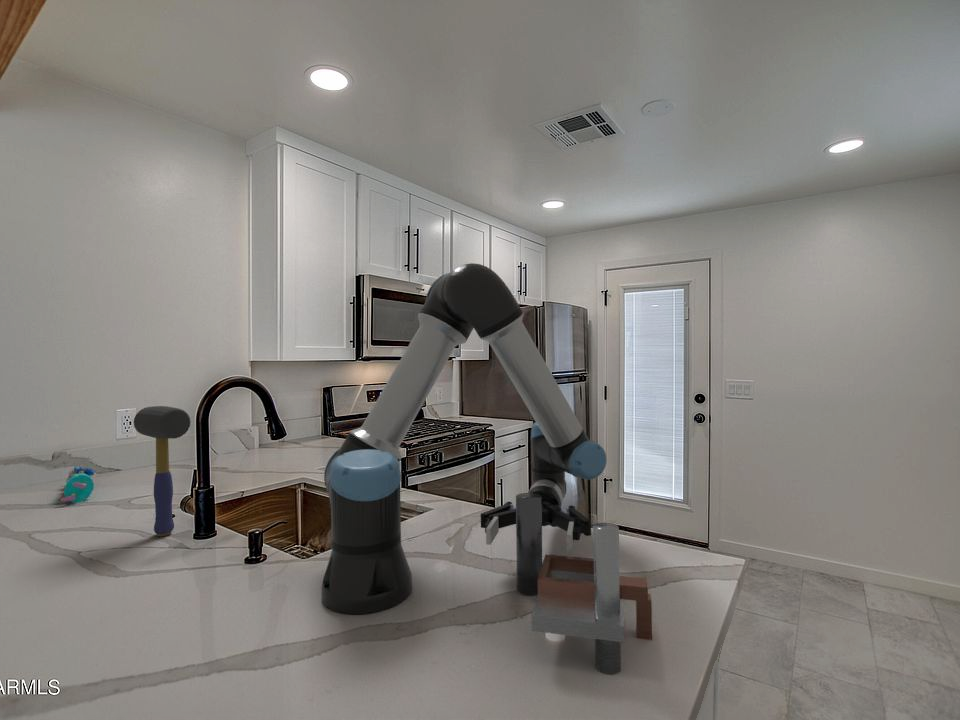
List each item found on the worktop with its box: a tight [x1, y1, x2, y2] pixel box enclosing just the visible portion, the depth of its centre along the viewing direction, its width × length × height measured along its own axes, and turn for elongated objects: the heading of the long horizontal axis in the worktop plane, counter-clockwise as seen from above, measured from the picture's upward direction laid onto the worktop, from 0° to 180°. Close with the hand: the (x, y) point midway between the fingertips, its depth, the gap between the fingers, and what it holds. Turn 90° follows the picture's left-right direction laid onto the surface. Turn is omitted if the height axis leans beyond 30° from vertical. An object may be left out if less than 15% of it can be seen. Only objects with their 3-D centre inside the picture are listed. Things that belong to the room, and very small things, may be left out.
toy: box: [60, 465, 96, 504], centre depth 151 cm, size 8×8×30 cm
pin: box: [515, 492, 543, 596], centre depth 84 cm, size 4×4×16 cm
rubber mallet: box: [133, 405, 192, 537], centre depth 113 cm, size 12×8×30 cm, turn 60°
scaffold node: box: [531, 522, 653, 675], centre depth 68 cm, size 16×15×18 cm
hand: (527, 539), depth 81 cm, fingers open, 13 cm apart
